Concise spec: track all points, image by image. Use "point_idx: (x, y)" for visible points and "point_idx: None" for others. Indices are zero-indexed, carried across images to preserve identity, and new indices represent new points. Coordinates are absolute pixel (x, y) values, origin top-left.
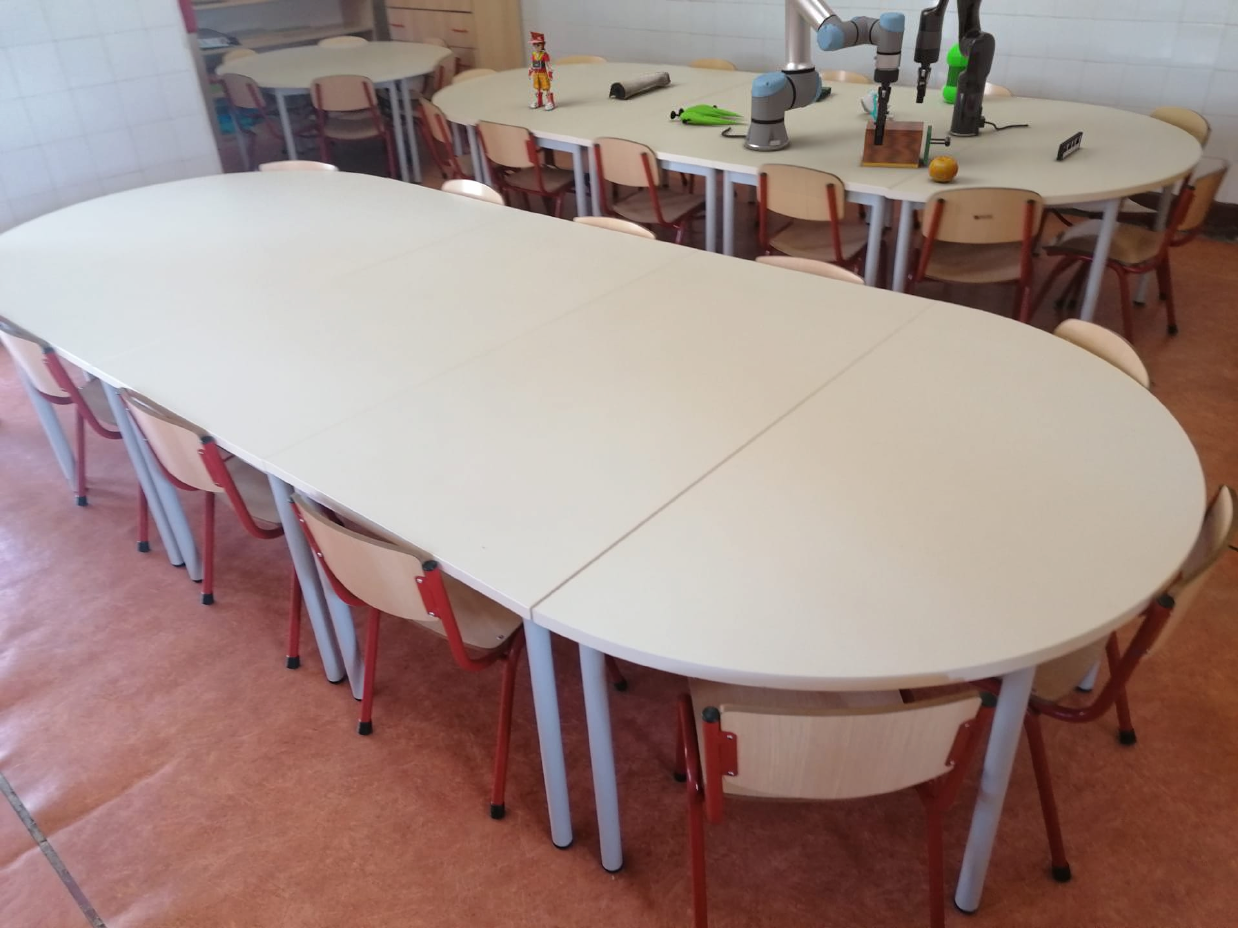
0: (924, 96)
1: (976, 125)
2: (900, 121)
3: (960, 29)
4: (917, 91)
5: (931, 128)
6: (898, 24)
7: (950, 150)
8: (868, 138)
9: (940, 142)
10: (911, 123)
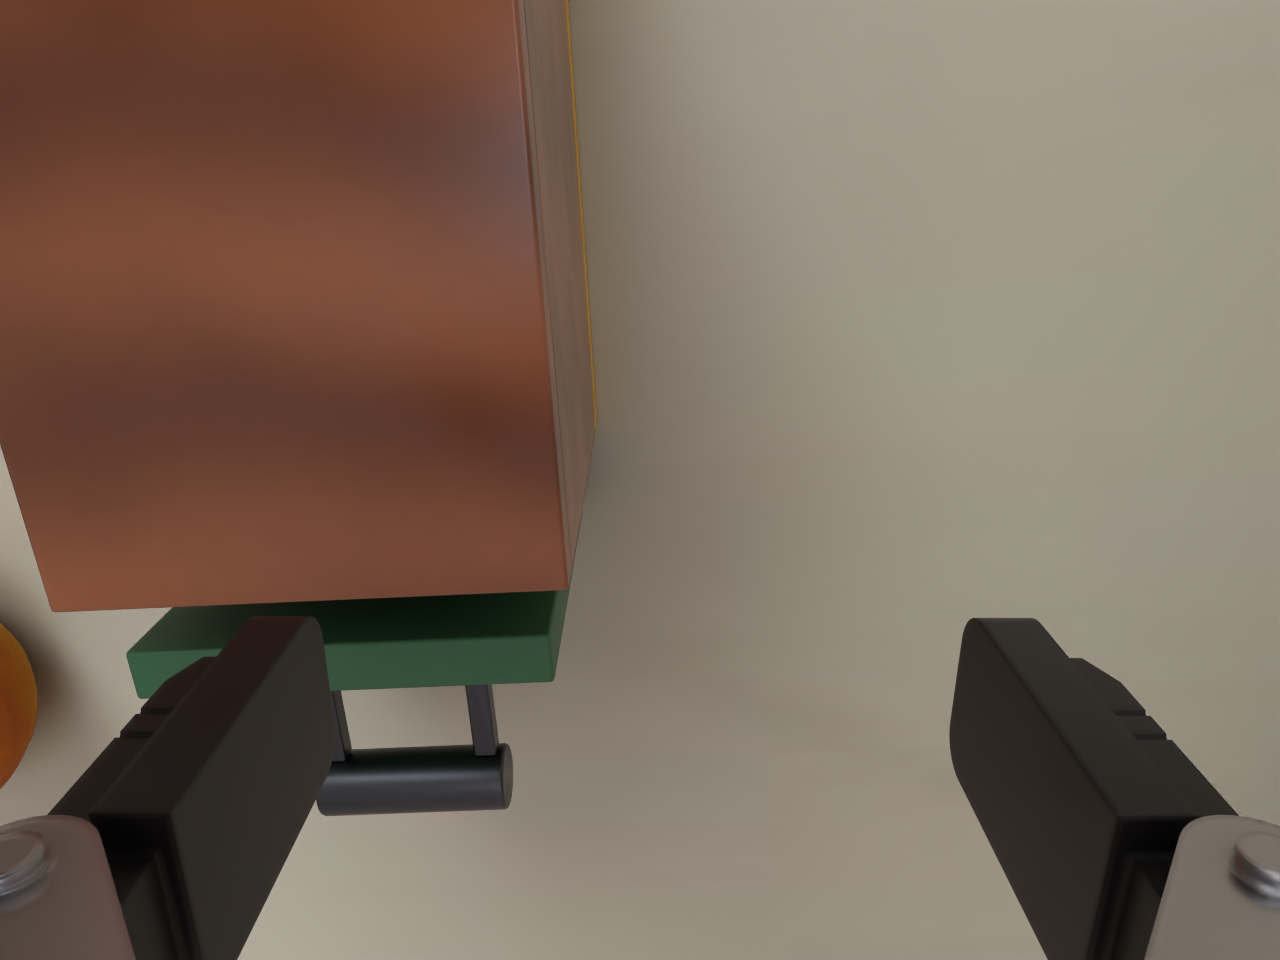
0: (955, 756)
1: None
2: (513, 209)
3: None
4: (100, 808)
5: (384, 686)
6: None
7: (912, 679)
8: None
9: None
10: (415, 414)
